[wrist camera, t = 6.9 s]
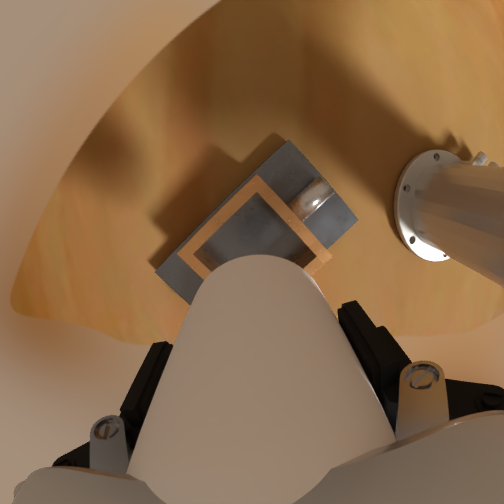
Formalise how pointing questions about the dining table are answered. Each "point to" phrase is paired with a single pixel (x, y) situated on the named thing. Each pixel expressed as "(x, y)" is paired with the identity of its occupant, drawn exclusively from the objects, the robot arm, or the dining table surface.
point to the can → (256, 393)
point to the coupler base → (264, 223)
